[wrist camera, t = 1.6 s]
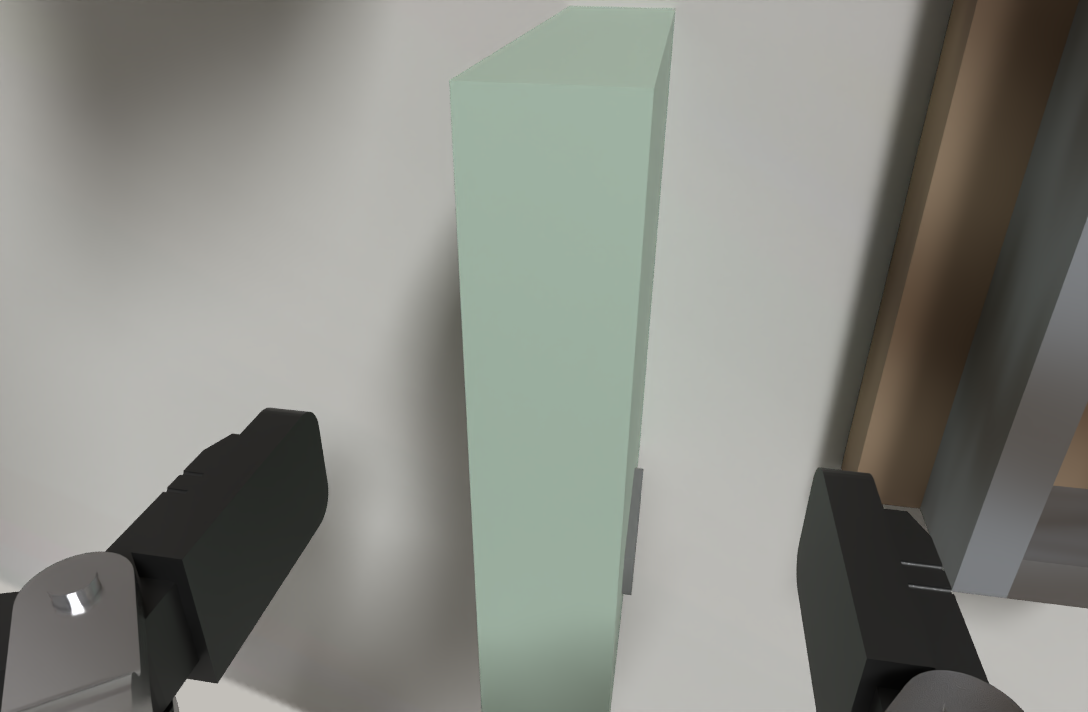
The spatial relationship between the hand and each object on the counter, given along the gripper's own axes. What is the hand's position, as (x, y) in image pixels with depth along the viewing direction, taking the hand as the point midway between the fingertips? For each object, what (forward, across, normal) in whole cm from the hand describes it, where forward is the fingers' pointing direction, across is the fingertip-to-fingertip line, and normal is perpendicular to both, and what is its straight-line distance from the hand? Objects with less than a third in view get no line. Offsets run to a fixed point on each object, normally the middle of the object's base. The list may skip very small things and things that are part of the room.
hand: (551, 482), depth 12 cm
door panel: (+10, 0, 0) cm, 10 cm away
